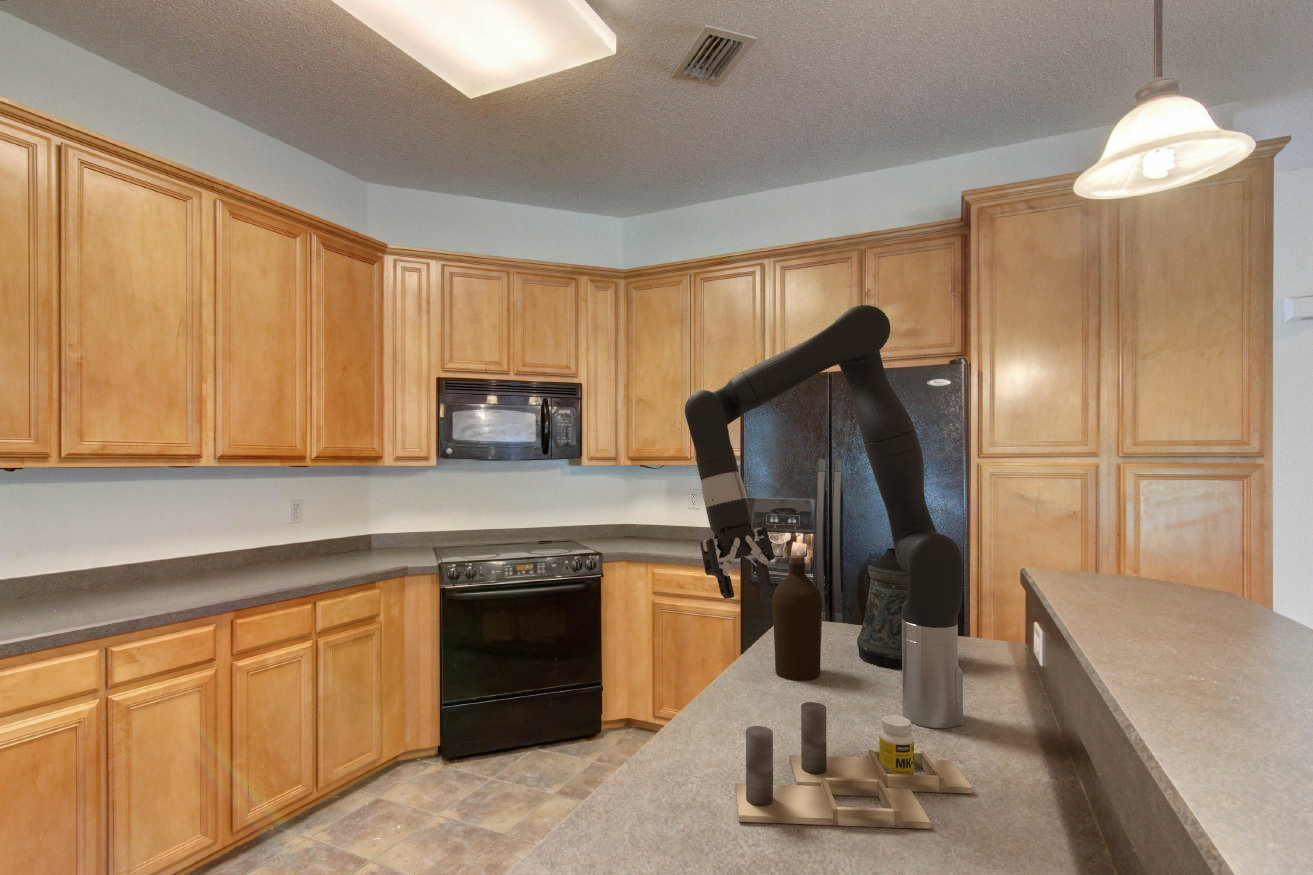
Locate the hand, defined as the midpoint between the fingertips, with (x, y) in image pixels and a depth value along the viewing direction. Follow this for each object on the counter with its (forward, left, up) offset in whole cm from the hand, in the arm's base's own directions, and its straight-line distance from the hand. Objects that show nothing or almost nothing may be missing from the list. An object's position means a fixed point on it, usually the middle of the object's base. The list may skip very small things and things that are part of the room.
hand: (747, 592), depth 112 cm
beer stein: (-38, -40, -23) cm, 60 cm away
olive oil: (-13, -28, -23) cm, 39 cm away
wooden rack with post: (-17, +16, -23) cm, 33 cm away
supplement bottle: (-20, +16, -23) cm, 35 cm away
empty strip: (-9, +25, -23) cm, 35 cm away
